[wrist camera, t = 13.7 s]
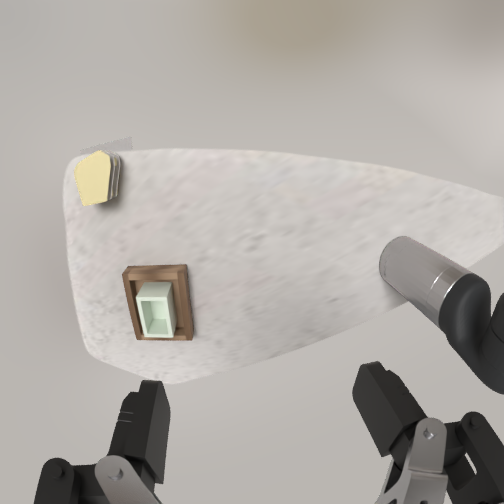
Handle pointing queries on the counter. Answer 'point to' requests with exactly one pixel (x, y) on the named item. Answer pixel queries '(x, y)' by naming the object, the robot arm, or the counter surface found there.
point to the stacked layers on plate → (100, 171)
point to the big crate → (179, 279)
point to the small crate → (157, 309)
